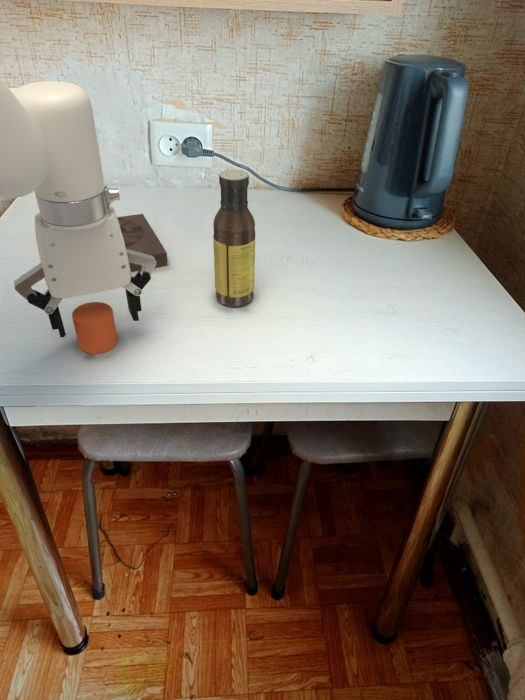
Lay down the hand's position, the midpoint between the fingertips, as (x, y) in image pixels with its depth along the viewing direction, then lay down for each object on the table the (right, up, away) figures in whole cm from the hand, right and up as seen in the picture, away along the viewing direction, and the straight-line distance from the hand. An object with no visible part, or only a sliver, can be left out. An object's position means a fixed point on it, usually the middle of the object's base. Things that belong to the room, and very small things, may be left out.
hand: (98, 323), depth 69 cm
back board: (-5, +14, +21) cm, 26 cm away
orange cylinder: (-1, -3, +2) cm, 3 cm away
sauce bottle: (+18, +5, +12) cm, 22 cm away
